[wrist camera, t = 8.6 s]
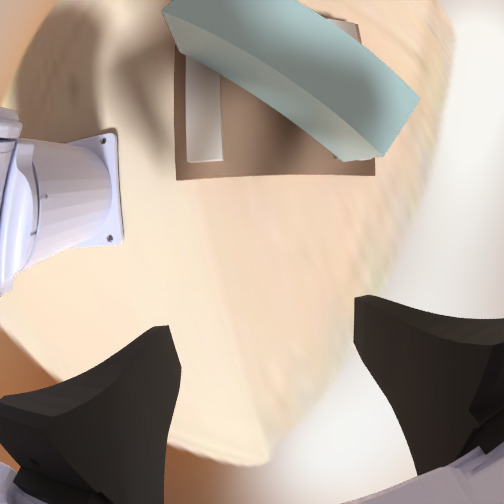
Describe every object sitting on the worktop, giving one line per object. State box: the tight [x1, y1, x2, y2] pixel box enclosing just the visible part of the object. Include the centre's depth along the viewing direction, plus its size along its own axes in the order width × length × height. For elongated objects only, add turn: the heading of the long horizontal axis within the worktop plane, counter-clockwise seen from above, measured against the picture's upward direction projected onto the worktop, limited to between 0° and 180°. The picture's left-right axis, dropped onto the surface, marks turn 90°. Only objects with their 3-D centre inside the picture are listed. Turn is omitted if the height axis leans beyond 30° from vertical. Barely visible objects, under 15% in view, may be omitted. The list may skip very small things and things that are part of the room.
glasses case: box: [161, 0, 421, 162], centre depth 12 cm, size 12×4×5 cm, turn 54°
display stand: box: [174, 18, 375, 180], centre depth 16 cm, size 13×12×3 cm
